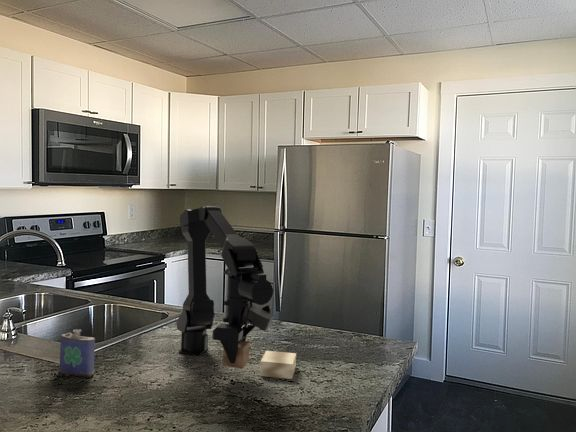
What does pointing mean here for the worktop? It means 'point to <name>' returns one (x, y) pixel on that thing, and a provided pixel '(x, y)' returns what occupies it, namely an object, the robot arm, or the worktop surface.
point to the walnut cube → (238, 356)
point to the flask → (77, 354)
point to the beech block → (278, 364)
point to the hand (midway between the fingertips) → (235, 359)
